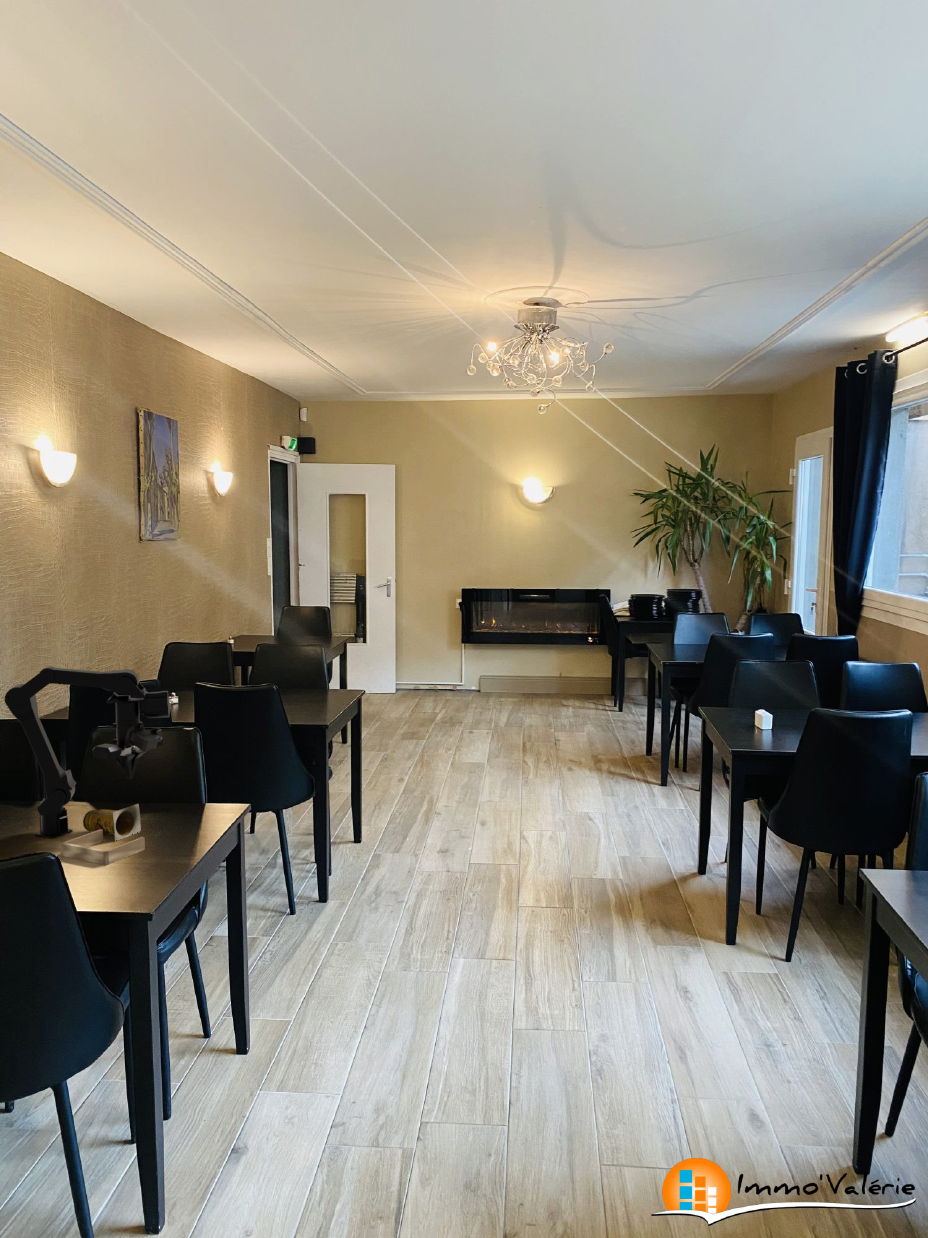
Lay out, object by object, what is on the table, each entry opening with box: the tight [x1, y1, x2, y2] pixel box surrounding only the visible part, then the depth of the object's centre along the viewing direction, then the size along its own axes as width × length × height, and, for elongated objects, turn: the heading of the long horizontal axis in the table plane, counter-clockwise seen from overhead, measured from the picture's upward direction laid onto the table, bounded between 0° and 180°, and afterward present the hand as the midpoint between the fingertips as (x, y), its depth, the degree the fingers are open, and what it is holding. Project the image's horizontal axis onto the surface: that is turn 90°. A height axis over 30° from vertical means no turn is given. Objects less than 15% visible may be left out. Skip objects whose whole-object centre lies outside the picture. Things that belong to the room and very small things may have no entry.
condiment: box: [82, 803, 142, 842], centre depth 227 cm, size 7×8×12 cm
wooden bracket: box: [60, 829, 146, 866], centre depth 213 cm, size 15×12×3 cm
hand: (129, 778), depth 231 cm, fingers closed
